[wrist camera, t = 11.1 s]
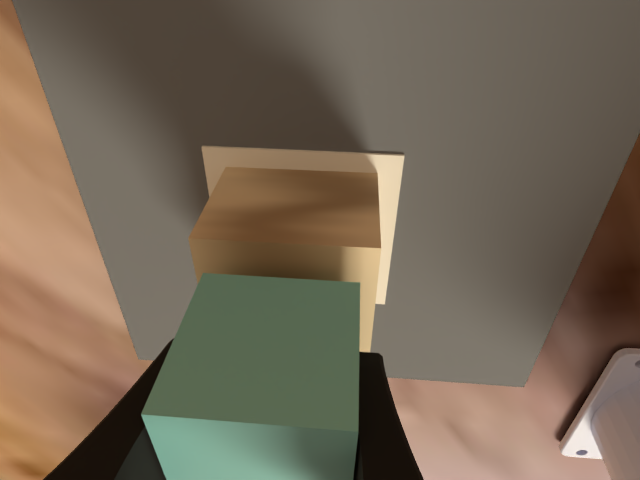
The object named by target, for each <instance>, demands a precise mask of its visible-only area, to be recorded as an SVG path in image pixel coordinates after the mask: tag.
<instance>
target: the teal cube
mask: <svg viewBox="0 0 640 480" xmlns="http://www.w3.org/2000/svg"><path fill="white" fill-rule="evenodd" d="M359 344H360V282H344V281H327V280H311V279H294V278H278V277H262V276H245V275H229V274H213V273H203V274H202V276H201V278H200V281H199V283H198V285H197V287H196V290H195V292H194V294H193V297H192V299H191V301H190V303H189V306H188V308H187V310H186V313H185V315H184V317H183V319H182V322H181V324H180V326H179V329H178V331H177V333H176V335H175V338H174V340H173V342H172V345H171V347H170V349H169V351H168V354H167V356H166V358H165V361H164V363H163V365H162V367H161V370H160V372H159V374H158V377H157V379H156V381H155V384H154V386H153V388H152V390H151V393H150V395H149V397H148V400H147V402H146V404H145V406H144V409H143V411H142V413H141V416H142V418H143V421H144V424H145V426H146V429H147V431H148V434H149V436H150V439H151V441H152V444H153V447H154V449H155V452H156V454H157V457H158V459H159V462H160V464H161V467H162V470H163V472H164V475H165V477H166V480H353V476H354V467H355V458H356V449H357V440H358V422H359Z"/></svg>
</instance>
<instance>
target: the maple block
mask: <svg viewBox="0 0 640 480" xmlns="http://www.w3.org/2000/svg"><path fill="white" fill-rule="evenodd" d="M188 240H189V245H190V250H191V255H192V259H193V264H194V269H195V274H196V278H197V283H199V281H200V278H201V276H202V274H203V273H213V274H229V275H245V276H262V277H278V278H294V279H311V280H327V281H344V282H360V344H359V352H370V349H371V339H372V330H373V321H374V311H375V302H376V293H377V283H378V274H379V265H380V255H381V232H380V211H379V189H378V173H363V172H339V171H315V170H291V169H267V168H243V167H225V169H224V171H223V173H222V175H221V177H220V179H219V181H218V182H217V184H216V186H215V188H214V190H213V192H212V194H211V196H210V198H209V200H208V201H207V203H206V205H205V207H204V209H203V211H202V213H201V215H200V217H199V219H198V221H197V222H196V224H195V226H194V228H193V230H192V232H191V234H190V236H189V238H188Z"/></svg>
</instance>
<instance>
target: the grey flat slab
mask: <svg viewBox="0 0 640 480" xmlns="http://www.w3.org/2000/svg"><path fill="white" fill-rule="evenodd" d="M12 1H13V4H14V7H15V10H16V13H17V16H18V18H19V21H20V24H21V27H22V30H23V33H24V35H25V38H26V41H27V44H28V47H29V50H30V53H31V55H32V58H33V61H34V64H35V67H36V70H37V72H38V75H39V78H40V81H41V84H42V87H43V89H44V92H45V95H46V98H47V101H48V104H49V106H50V109H51V112H52V115H53V118H54V121H55V124H56V126H57V129H58V132H59V135H60V138H61V141H62V143H63V146H64V149H65V152H66V155H67V158H68V160H69V163H70V166H71V169H72V172H73V175H74V177H75V180H76V183H77V186H78V189H79V192H80V195H81V197H82V200H83V203H84V206H85V209H86V212H87V214H88V217H89V220H90V223H91V226H92V229H93V231H94V234H95V237H96V240H97V243H98V246H99V248H100V251H101V254H102V257H103V260H104V263H105V266H106V268H107V271H108V274H109V277H110V280H111V283H112V285H113V288H114V291H115V294H116V297H117V300H118V302H119V305H120V308H121V311H122V314H123V317H124V319H125V322H126V325H127V328H128V331H129V334H130V337H131V339H132V342H133V345H134V348H135V351H136V354H137V356H138V359H141V360H155V359H156V358H157V356H158V355H159V354H160V353H161V351H162V350H163V349H164V348H165V346H166V345H167V344H168V343H169V341H171V340H172V339H174V338H175V335H176V333H177V331H178V329H179V326H180V324H181V322H182V319H183V317H184V315H185V313H186V310H187V308H188V306H189V303H190V301H191V299H192V297H193V294H194V292H195V290H196V287H197V285H198V283H197V278H196V274H195V269H194V264H193V259H192V255H191V250H190V245H189V240H188V238H189V236H190V234H191V232H192V230H193V228H194V226H195V224H196V222H197V221H198V219H199V217H200V215H201V213H202V211H203V209H204V207H205V205H206V203H207V201H208V200H209V198H210V196H211V194H212V192H213V190H214V188H215V186H216V184H217V182H218V181H219V179H220V177H221V175H222V173H223V171H224V169H225V167H243V168H267V169H291V170H315V171H339V172H363V173H378V189H379V211H380V232H381V255H380V265H379V274H378V283H377V293H376V302H375V311H374V321H373V330H372V339H371V349H370V352H372V353H379V354H380V355H382V356H383V362H384V367H385V372H386V376H387V377H389V378H403V379H417V380H431V381H444V382H458V383H472V384H486V385H500V386H513V387H524V386H525V384H526V381H527V379H528V377H529V375H530V373H531V370H532V368H533V366H534V364H535V362H536V359H537V357H538V355H539V353H540V351H541V348H542V346H543V344H544V342H545V340H546V338H547V335H548V333H549V331H550V329H551V327H552V324H553V322H554V320H555V318H556V316H557V313H558V311H559V309H560V307H561V305H562V302H563V300H564V298H565V296H566V294H567V291H568V289H569V287H570V285H571V283H572V280H573V278H574V276H575V274H576V272H577V269H578V267H579V265H580V263H581V261H582V258H583V256H584V254H585V252H586V250H587V247H588V245H589V243H590V241H591V239H592V237H593V234H594V232H595V230H596V228H597V226H598V223H599V221H600V219H601V217H602V215H603V212H604V210H605V208H606V206H607V204H608V201H609V199H610V197H611V195H612V193H613V190H614V188H615V186H616V184H617V182H618V179H619V177H620V175H621V173H622V171H623V168H624V166H625V164H626V162H627V160H628V157H629V155H630V153H631V151H632V149H633V146H634V144H635V142H636V140H637V138H638V136H639V133H640V0H12Z"/></svg>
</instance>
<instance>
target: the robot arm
mask: <svg viewBox="0 0 640 480" xmlns="http://www.w3.org/2000/svg"><path fill="white" fill-rule="evenodd" d="M173 340H174V339H172V340H171V341H169V343H168V344H167V345H166V346H165V348H164V349H163V350H162V351H161V353H160V354H159V355H158V356H157V358H156V359H155V360H154V361H153V362H152V364H151V365H150V366H149V367H148V369H147V370H146V371H145V372H144V373H143V375H142V376H141V377H140V378H139V379H138V381H137V382H136V383H135V384H134V385H133V386H132V388H131V389H130V390H129V391H128V392H127V393H126V394H125V396H124V397H123V398H122V399H121V400H120V401H119V402H118V404H117V405H116V406H115V407H114V408H113V409H112V410H111V411H110V413H109V414H108V415H107V416H106V417H105V418H104V419H103V420H102V421H101V422H100V423H99V424H98V425H97V426H96V428H95V429H94V430H93V431H92V432H91V433H90V434H89V435H88V436H87V437H86V438H85V439H84V440H83V441H82V442H81V443H80V444H79V445H78V446H77V447H76V448H75V449H74V450H73V451H72V452H71V453H70V454H69V455H68V456H67V457H66V458H65V459H64V460H63V461H62V462H61V463H60V464H59V465H58V466H57V467H56V468H55V469H54V470H53V471H52V472H51V473H49V474H48V475H47V476H46V477H45V478H44V479H43V480H166V477H165V475H164V472H163V470H162V467H161V464H160V462H159V459H158V457H157V454H156V452H155V449H154V447H153V444H152V441H151V439H150V436H149V434H148V431H147V429H146V426H145V424H144V421H143V418H142V416H141V413H142V411H143V409H144V406H145V404H146V402H147V400H148V397H149V395H150V393H151V390H152V388H153V386H154V384H155V381H156V379H157V377H158V374H159V372H160V370H161V367H162V365H163V363H164V361H165V358H166V356H167V354H168V351H169V349H170V347H171V345H172V342H173ZM559 449H560V451H561V453H562V454H563V455H565V456H569V457H581V458H594V459H603V461H604V463H605V466H606V468H607V471H608V473H609V475H610V478H611V480H640V349H637V348H624V349H621V350H619V351H617V352H616V353H615V354H614V355H613V356H612V358H611V360H610V361H609V363H608V365H607V366H606V368H605V370H604V371H603V373H602V375H601V376H600V378H599V379H598V381H597V383H596V384H595V386H594V388H593V389H592V391H591V393H590V394H589V396H588V398H587V399H586V401H585V403H584V404H583V406H582V408H581V409H580V411H579V413H578V414H577V416H576V417H575V419H574V421H573V422H572V424H571V426H570V427H569V429H568V431H567V432H566V434H565V436H564V437H563V439H562V441H561V442H560V444H559ZM353 480H424V479H423V477H422V475H421V472H420V470H419V468H418V465H417V463H416V461H415V458H414V456H413V453H412V451H411V449H410V446H409V443H408V441H407V438H406V435H405V433H404V430H403V427H402V425H401V422H400V419H399V416H398V414H397V411H396V408H395V404H394V401H393V398H392V395H391V391H390V388H389V384H388V380H387V376H386V372H385V367H384V362H383V356H382V355H380V354H379V353H372V352H359V422H358V440H357V449H356V458H355V467H354V476H353Z"/></svg>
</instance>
